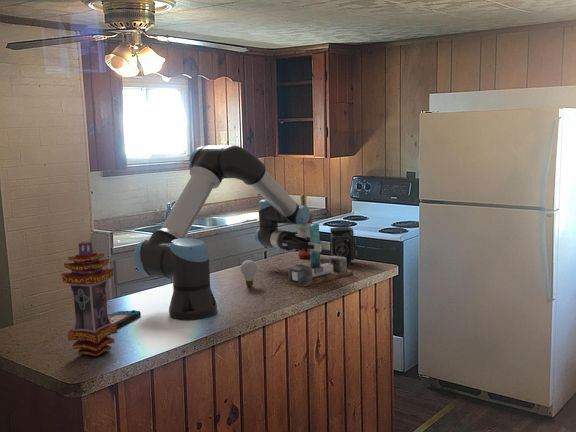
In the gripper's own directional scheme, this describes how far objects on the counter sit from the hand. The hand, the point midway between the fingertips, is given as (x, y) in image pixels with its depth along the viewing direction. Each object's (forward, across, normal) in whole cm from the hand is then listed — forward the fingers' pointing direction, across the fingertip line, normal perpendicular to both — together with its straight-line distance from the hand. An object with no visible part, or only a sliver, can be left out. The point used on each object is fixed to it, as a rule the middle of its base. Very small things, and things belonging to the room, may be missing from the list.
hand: (324, 247), depth 232 cm
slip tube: (-5, +2, -11) cm, 13 cm away
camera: (-16, -26, -13) cm, 34 cm away
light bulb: (-15, +24, -13) cm, 31 cm away
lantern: (+10, +94, -13) cm, 95 cm away
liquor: (-38, -24, -13) cm, 47 cm away
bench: (-5, -2, -13) cm, 14 cm away
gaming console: (-11, +81, -14) cm, 83 cm away
